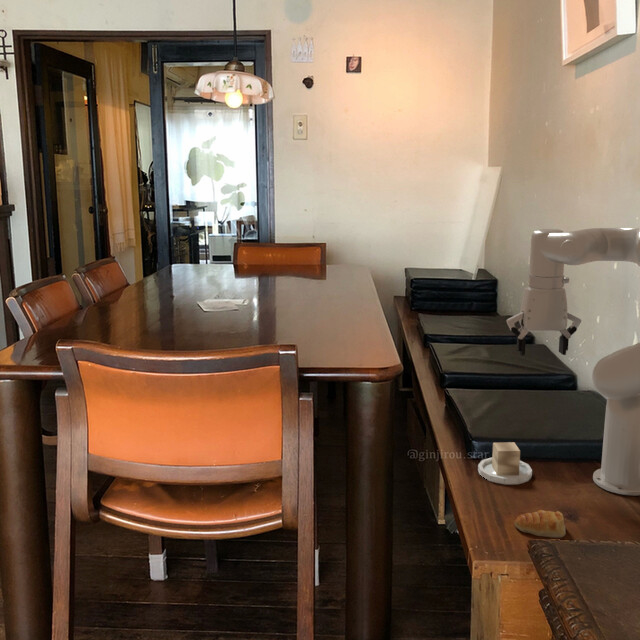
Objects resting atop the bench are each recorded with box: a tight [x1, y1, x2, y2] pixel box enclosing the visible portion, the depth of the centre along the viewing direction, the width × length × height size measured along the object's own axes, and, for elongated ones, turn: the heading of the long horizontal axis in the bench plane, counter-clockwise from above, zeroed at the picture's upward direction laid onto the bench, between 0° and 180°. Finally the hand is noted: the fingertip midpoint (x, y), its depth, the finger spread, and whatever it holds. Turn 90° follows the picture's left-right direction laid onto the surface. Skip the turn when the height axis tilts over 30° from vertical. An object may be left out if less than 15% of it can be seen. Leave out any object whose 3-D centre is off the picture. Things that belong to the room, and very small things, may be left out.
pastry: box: [514, 509, 566, 539], centre depth 136 cm, size 9×7×4 cm
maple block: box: [492, 441, 521, 476], centre depth 161 cm, size 5×5×6 cm
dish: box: [477, 457, 533, 486], centre depth 161 cm, size 12×12×1 cm
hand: (541, 353), depth 164 cm, fingers open, 9 cm apart
